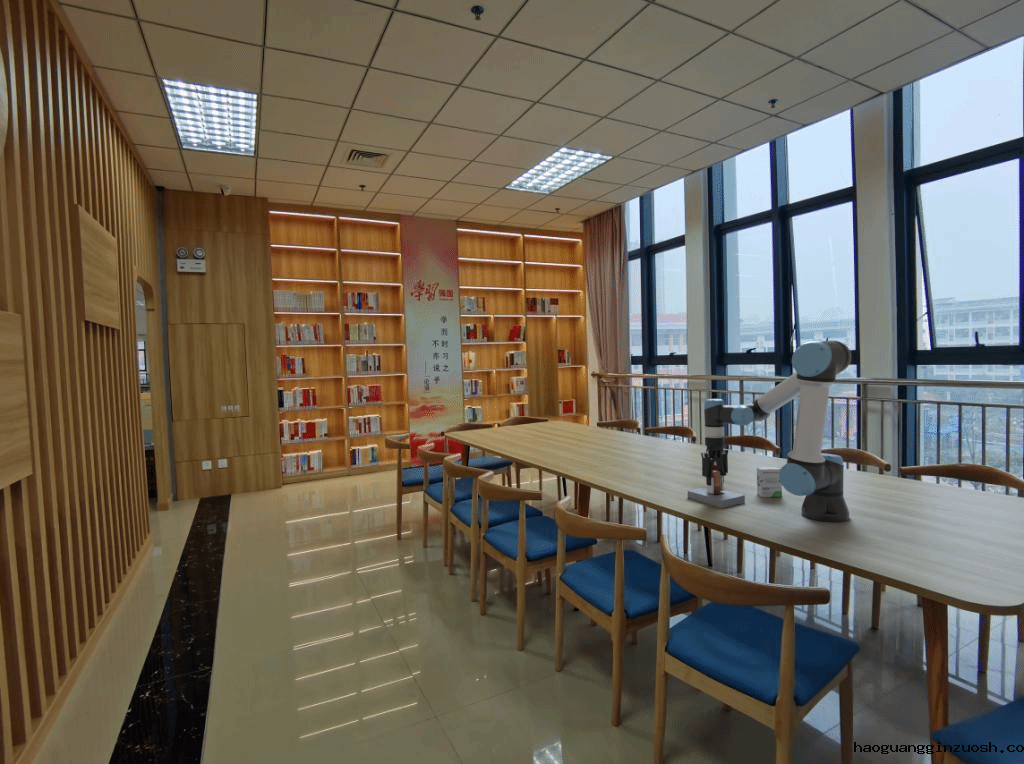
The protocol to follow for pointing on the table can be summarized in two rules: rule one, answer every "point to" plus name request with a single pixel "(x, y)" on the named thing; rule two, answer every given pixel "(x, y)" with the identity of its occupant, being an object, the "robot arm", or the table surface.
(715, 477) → the peg
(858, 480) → the table surface
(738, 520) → the table surface
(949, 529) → the table surface
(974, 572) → the table surface
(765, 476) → the ink box
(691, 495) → the board
